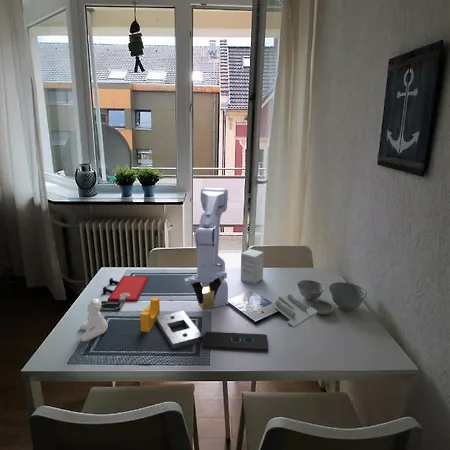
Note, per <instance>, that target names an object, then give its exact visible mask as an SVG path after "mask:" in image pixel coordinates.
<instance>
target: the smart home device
mask: <svg viewBox="0 0 450 450" xmlns="http://www.w3.org/2000/svg"><path fill="white" fill-rule="evenodd" d="M268 343H269V342H268V335H267V334H265V333H248V332H247V333H245V332H243V333H242V332H221V331H205V332H204V335H203V341H202V349H203V350H211V351H214V350H215V351H235V352H253V353H256V352H257V353H268V352H269V344H268Z"/></svg>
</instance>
